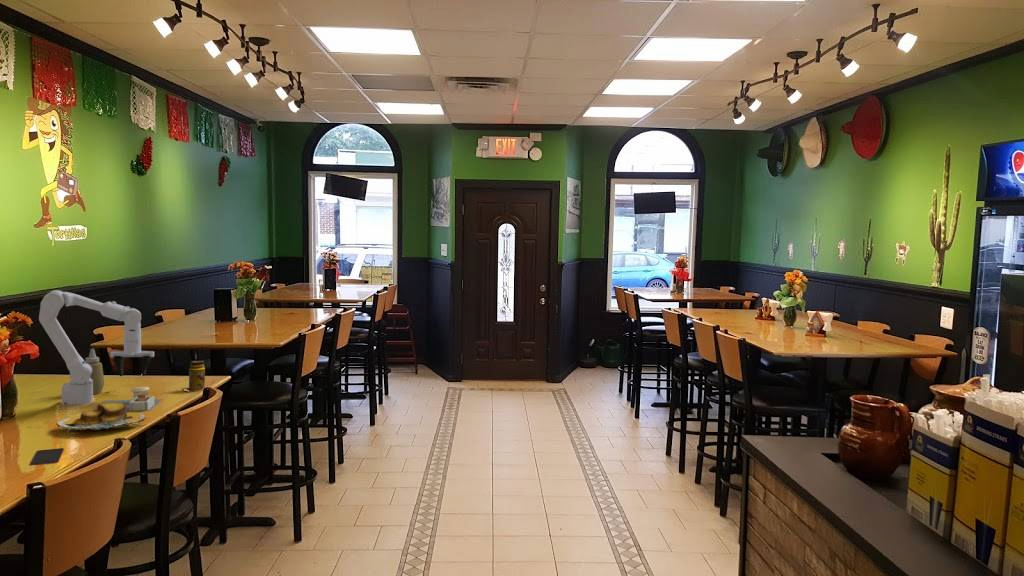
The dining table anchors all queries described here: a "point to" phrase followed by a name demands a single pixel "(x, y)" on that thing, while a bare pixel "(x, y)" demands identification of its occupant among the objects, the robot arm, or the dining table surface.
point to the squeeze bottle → (96, 372)
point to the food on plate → (101, 417)
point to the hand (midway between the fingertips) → (132, 375)
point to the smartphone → (47, 456)
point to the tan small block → (142, 396)
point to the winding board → (134, 404)
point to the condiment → (196, 376)
